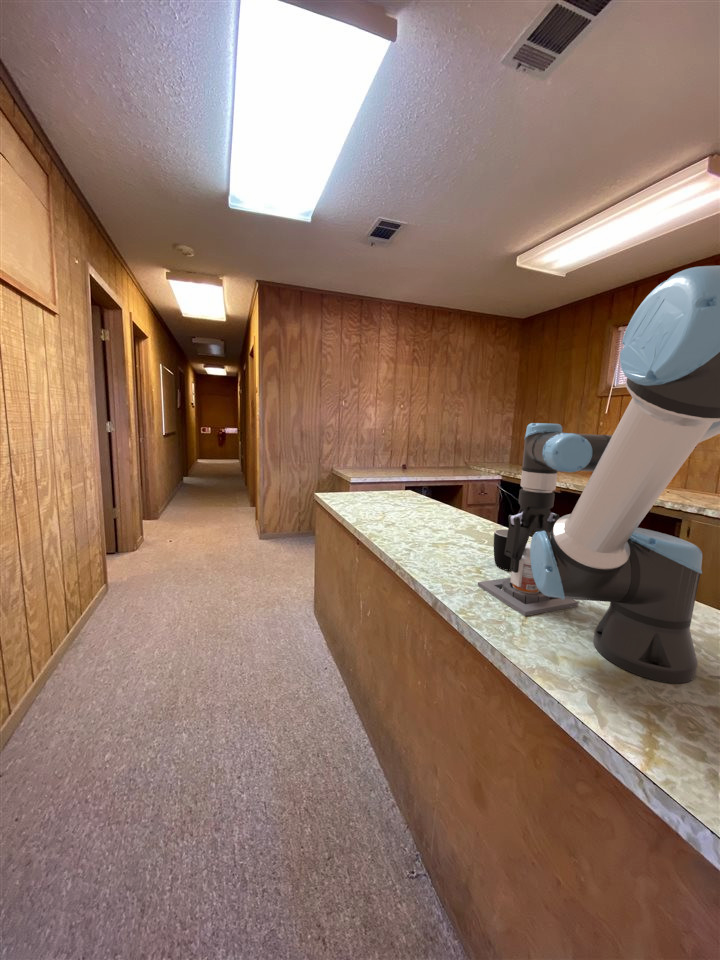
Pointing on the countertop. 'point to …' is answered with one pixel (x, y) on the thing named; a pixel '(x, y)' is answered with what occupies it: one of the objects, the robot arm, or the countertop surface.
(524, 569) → the pill bottle
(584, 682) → the countertop surface
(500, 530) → the mug
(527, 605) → the grey plate with hole
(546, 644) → the countertop surface
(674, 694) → the countertop surface
